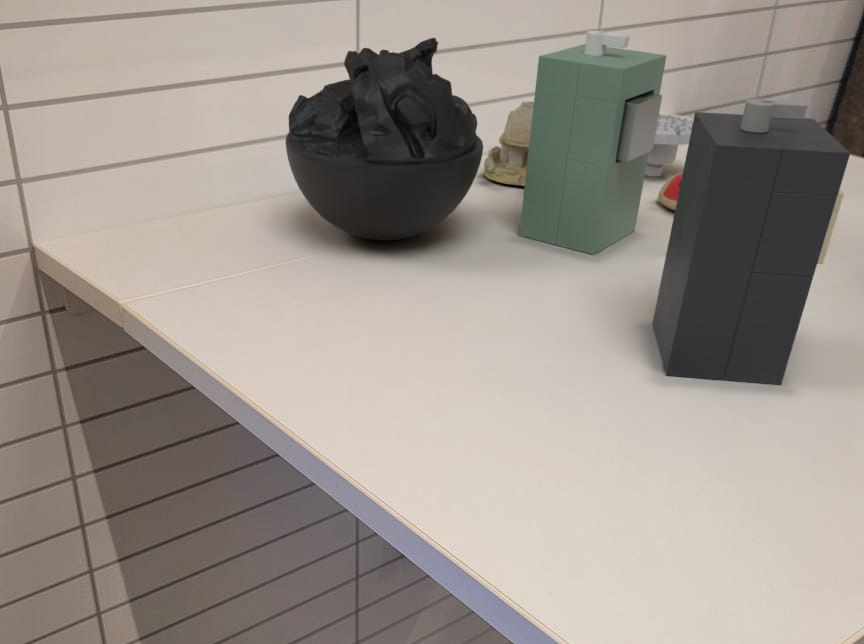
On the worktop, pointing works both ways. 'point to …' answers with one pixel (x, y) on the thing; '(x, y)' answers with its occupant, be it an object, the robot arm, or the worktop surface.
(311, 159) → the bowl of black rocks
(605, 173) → the soap dispenser
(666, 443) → the worktop surface
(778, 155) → the lotion dispenser
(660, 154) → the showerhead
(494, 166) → the ceramic model
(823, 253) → the lotion plate
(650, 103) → the plate
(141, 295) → the worktop surface
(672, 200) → the red and beige wedge
